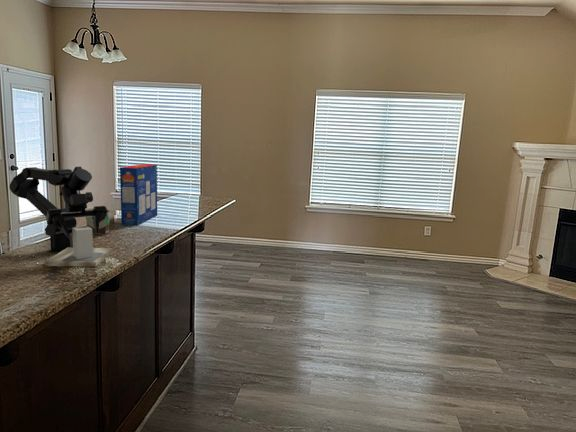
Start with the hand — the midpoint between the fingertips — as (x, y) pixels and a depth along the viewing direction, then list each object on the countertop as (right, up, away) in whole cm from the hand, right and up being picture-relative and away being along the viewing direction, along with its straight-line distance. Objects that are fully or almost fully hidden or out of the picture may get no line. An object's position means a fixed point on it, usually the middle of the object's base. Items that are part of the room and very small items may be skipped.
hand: (83, 235), depth 143 cm
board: (-3, -9, +5) cm, 11 cm away
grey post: (-1, -7, +2) cm, 8 cm away
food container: (-14, -1, +45) cm, 47 cm away
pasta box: (-7, +4, +75) cm, 76 cm away
